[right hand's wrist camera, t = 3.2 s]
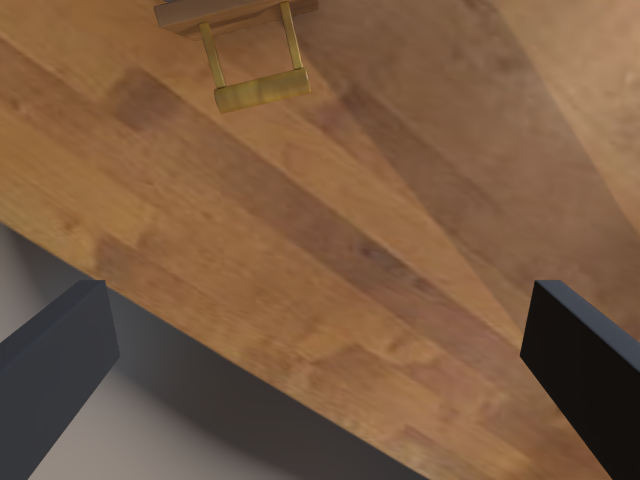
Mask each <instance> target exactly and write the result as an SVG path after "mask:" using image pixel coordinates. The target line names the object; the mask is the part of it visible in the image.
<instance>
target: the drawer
mask: <svg viewBox="0 0 640 480" xmlns="http://www.w3.org/2000/svg"><path fill="white" fill-rule="evenodd" d="M318 9H319V7H318V0H177V1H173V2H169V3H166V4H162V5H158V6H154V11H155V14H156V17H157V20H158V23H159V26H160V27H161V28H163V29H166V30H168V31H171V32H173V33H176V34H179V35H181V36H184V37H186V38H189V39H191V40H194V41H196V40H200V39H203V42H204V45H205V49H206V52H207V56H208V59H209V63H210V66H211V70H212V73H213V76H214V80H215V83H216V87H217V88H218V89H215V91H214V95H215V100H216V103H217V106H218V108H219V110H220V112H221V113H227V112H231V111H236V110H240V109H244V108H248V107H252V106H257V105H261V104H265V103H269V102H273V101H278V100H282V99H286V98H290V97H295V96H299V95H303V94H307V93H311V89H310V84H309V80H308V75H307V71H306V68H303V66H302V62H301V57H300V53H299V48H298V43H297V39H296V34H295V30H294V25H293V21H292V16H294V15H298V14H302V13H306V12H310V11H314V10H318ZM282 18H283V22H284V27H285V31H286V36H287V40H288V45H289V49H290V53H291V58H292V62H293V67H294V69H295V70H292V71H288V72H284V73H280V74H276V75H272V76H268V77H263V78H259V79H255V80H251V81H247V82H243V83H239V84H235V85H230V86H226V83H225V79H224V76H223V72H222V68H221V65H220V61H219V58H218V54H217V51H216V47H215V44H214V40H213V37H212V36H215V35H219V34H223V33H227V32H231V31H235V30H239V29H243V28H247V27H251V26H255V25H259V24H263V23H267V22H271V21H275V20H279V19H282Z"/></svg>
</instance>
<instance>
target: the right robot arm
mask: <svg viewBox="0 0 640 480" xmlns="http://www.w3.org/2000/svg"><path fill="white" fill-rule="evenodd" d="M119 357H120V352H119V347H118V342H117V337H116V333H115V327H114V323H113V318H112V313H111V308H110V303H109V298H108V293H107V288H106V283H105V280H80V281H78V282H77V283H76V284H74V285H73V286H72V287H71V288H69V289H68V290H67V291H66V292H64V293H63V294H62V295H61V296H59V297H58V298H57V299H56V300H54V301H53V302H52V303H50V304H49V305H48V306H47V307H45V308H44V309H43V310H42V311H40V312H39V313H38V314H37V315H35V316H34V317H33V318H32V319H30V320H29V321H28V322H26V323H25V324H24V325H23V326H21V327H20V328H19V329H18V330H16V331H15V332H14V333H12V334H11V335H10V336H9V337H7V338H6V339H5V340H4V341H2V342H1V343H0V480H28V478H29V477H30V476H31V474H32V473H33V472H34V470H35V469H36V468H37V466H38V465H39V464H40V462H41V461H42V460H43V458H44V457H45V456H46V454H47V453H48V452H49V450H50V449H51V448H52V446H53V445H54V444H55V442H56V441H57V440H58V438H59V437H60V436H61V434H62V433H63V432H64V430H65V429H66V428H67V426H68V425H69V424H70V422H71V421H72V420H73V418H74V417H75V416H76V414H77V413H78V412H79V410H80V409H81V408H82V406H83V405H84V404H85V402H86V401H87V400H88V398H89V397H90V396H91V394H92V393H93V392H94V390H95V389H96V388H97V386H98V385H99V384H100V382H101V381H102V380H103V378H104V377H105V376H106V374H107V373H108V372H109V370H110V369H111V368H112V366H113V365H114V364H115V363H116V361H117V360H118V359H119ZM520 357H521V359H522V360H523V361H524V363H525V364H526V365H527V367H528V368H529V369H530V371H531V372H532V373H533V374H534V376H535V377H536V378H537V380H538V381H539V382H540V384H541V385H542V386H543V388H544V389H545V390H546V392H547V393H548V394H549V396H550V397H551V398H552V400H553V401H554V402H555V404H556V405H557V406H558V408H559V409H560V410H561V412H562V413H563V414H564V416H565V417H566V418H567V420H568V421H569V422H570V424H571V425H572V426H573V428H574V429H575V430H576V432H577V433H578V434H579V436H580V437H581V438H582V440H583V441H584V442H585V444H586V445H587V446H588V448H589V449H590V450H591V452H592V453H593V454H594V456H595V457H596V458H597V460H598V461H599V462H600V464H601V465H602V466H603V468H604V469H605V470H606V472H607V473H608V474H609V476H610V477H611V478H612V480H640V343H639V342H638V341H636V340H635V339H634V338H633V337H631V336H630V335H629V334H628V333H626V332H625V331H624V330H622V329H621V328H620V327H619V326H617V325H616V324H615V323H614V322H612V321H611V320H610V319H609V318H607V317H606V316H605V315H603V314H602V313H601V312H600V311H598V310H597V309H596V308H595V307H593V306H592V305H591V304H590V303H588V302H587V301H586V300H584V299H583V298H582V297H581V296H579V295H578V294H577V293H576V292H574V291H573V290H572V289H571V288H569V287H568V286H567V285H566V284H564V283H563V282H562V281H560V280H535V283H534V288H533V293H532V298H531V303H530V308H529V313H528V317H527V322H526V327H525V332H524V337H523V342H522V347H521V352H520Z"/></svg>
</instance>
